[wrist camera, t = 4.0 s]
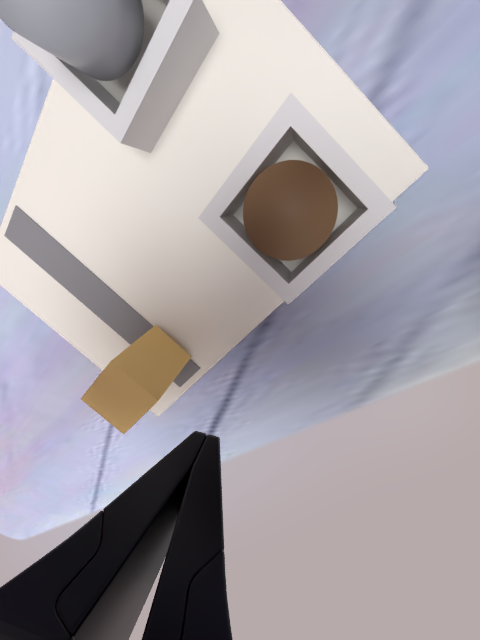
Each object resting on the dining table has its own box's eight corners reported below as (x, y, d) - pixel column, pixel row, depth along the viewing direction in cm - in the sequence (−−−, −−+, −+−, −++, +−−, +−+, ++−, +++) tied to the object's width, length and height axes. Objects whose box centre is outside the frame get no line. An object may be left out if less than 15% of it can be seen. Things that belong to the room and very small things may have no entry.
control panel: (405, 175, 14) (458, 159, 9) (174, 392, 24) (140, 442, 19) (174, -82, 12) (88, -269, 8) (24, 263, 22) (-59, 280, 17)
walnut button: (348, 208, 13) (359, 209, 10) (291, 264, 14) (287, 278, 11) (293, 150, 12) (289, 135, 10) (240, 214, 14) (224, 216, 11)
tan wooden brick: (191, 356, 17) (158, 401, 13) (162, 386, 19) (123, 434, 15) (155, 324, 17) (110, 361, 13) (128, 357, 19) (80, 398, 15)
